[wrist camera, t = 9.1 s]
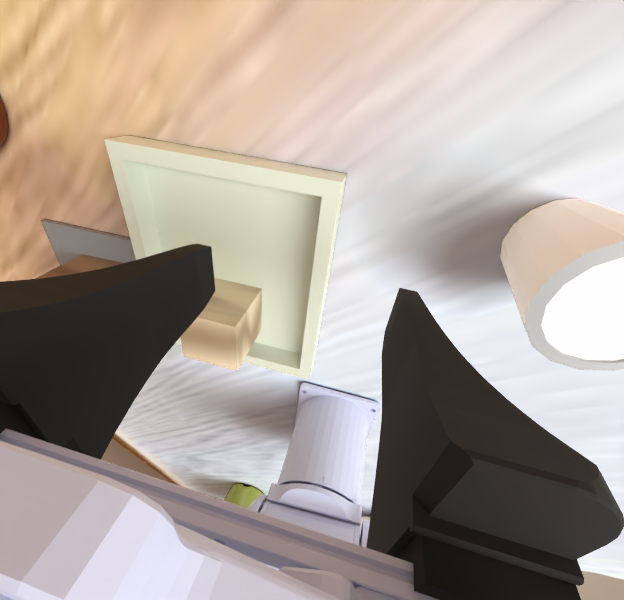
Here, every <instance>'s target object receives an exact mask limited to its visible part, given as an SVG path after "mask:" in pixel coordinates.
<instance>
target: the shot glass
mask: <svg viewBox="0 0 624 600" xmlns="http://www.w3.org/2000/svg"><path fill="white" fill-rule="evenodd" d="M500 258H501V261H502V264H503V267H504V270H505V273H506V275H507V278H508V281H509V284H510V287H511V290H512V293H513V295H514V298H515V301H516V304H517V307H518V310H519V312H520V315H521V318H522V321H523V324H524V327H525V329H526V332H527V334H528V337H529V340H530V342H531V345H532V346H533V347H534V348H535V349H536V350H538V351H539V352H540V353H542V354H543V355H544V356H545V357H547V358H548V359H549V360H550V361H553V362H556V363H560V364H563V365H566V366H569V367H573V368H576V369H582V370H613V371H614V370H619V369H624V213H623V212H621V211H618V210H615V209H612V208H609V207H607V206H604V205H601V204H598V203H595V202H591V201H587V200H583V199H579V198H572V199H563V200H554V201H551V202H549V203H546V204H544V205H542V206H539V207H537V208H534V209H532V210H530V211H529V212H528V213H527V214H525V215H524V216H523V217H522V218H520V219H519V220H518V221H517V222H515V223H514V224H513V225H512V227H511V228H510V230H509V232H508V233H507V235H506V236H505V238H504V239H503V241H502V248H501V254H500Z"/></svg>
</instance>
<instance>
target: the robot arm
mask: <svg viewBox="0 0 624 600" xmlns="http://www.w3.org/2000/svg"><path fill="white" fill-rule="evenodd" d="M214 292H215V281H214V270H213V259H212V249H211V247H210V246H206V245H201V244H191V245H187V246H183V247H179V248H175V249H172V250H169V251H165V252H162V253H158V254H155V255H152V256H148V257H145V258H141V259H138V260H134V261H130V262H126V263H123V264H119V265H115V266H111V267H107V268H102V269H98V270H92V271H87V272H82V273H76V274H70V275H62V276H55V277H47V278H40V279H30V280H19V281H6V282H0V600H581V598H580V596H579V593H578V590H577V587H576V585H582V584H583V583H584V577H583V575H582V572H581V569H580V567H579V564H578V561H577V559H578V558H580V557H582V556H584V555H586V554H588V553H590V552H592V551H594V550H597V549H599V548H601V547H603V546H605V545H607V544H609V543H610V542H612V541H613V540H615V539H616V538H617V537H618V536H619V535H620V533H621V531H622V529H623V527H624V518H623V514H622V512H621V510H620V508H619V507H618V505H617V503H616V501H615V499H614V497H613V495H612V493H611V491H610V489H609V488H608V486H607V484H606V482H605V480H604V478H603V476H602V474H601V472H600V471H599V469H598V467H597V466H596V465H595V464H594V463H592V462H591V461H589V460H588V459H586V458H585V457H584V456H582V455H581V454H579V453H578V452H576V451H575V450H573V449H572V448H571V447H569V446H568V445H566V444H565V443H563V442H562V441H560V440H559V439H558V438H556V437H555V436H553V435H552V434H550V433H549V432H548V431H546V430H545V429H544V428H542V427H541V426H540V425H538V424H537V423H536V422H535V421H533V420H532V419H531V418H529V417H528V416H527V415H526V414H524V413H523V412H522V411H521V410H519V409H518V408H517V407H516V406H515V405H513V404H512V403H511V402H510V401H509V400H507V399H506V398H505V397H504V396H503V395H502V394H501V393H500V392H498V391H497V390H496V389H495V388H494V387H493V386H492V385H491V384H490V383H488V382H487V381H486V380H485V379H484V378H483V377H482V376H481V375H480V374H479V373H478V372H477V371H476V370H475V369H474V367H473V366H472V365H471V364H470V363H469V362H468V361H467V360H466V359H465V358H464V357H463V356H462V354H461V353H460V352H459V351H458V350H457V349H456V347H455V346H454V345H453V344H452V342H451V341H450V340H449V339H448V337H447V336H446V335H445V333H444V332H443V331H442V329H441V328H440V326H439V325H438V323H437V322H436V321H435V319H434V318H433V316H432V315H431V313H430V311H429V310H428V308H427V307H426V305H425V304H424V302H423V300H422V299H421V297H420V295H419V294H418V292H416V291H411V290H406V289H402V288H399V291H398V294H397V297H396V300H395V303H394V306H393V309H392V312H391V315H390V318H389V321H388V324H387V327H386V330H385V335H384V342H383V350H382V422H381V432H380V442H379V452H378V460H377V469H376V478H375V486H374V494H373V502H372V510H371V517H370V523H369V522H367V521H363V522H362V527H361V535H360V525H361V514H362V506H361V495H362V484H363V474H364V463H365V453H366V442H367V438H368V435H369V433H370V430H371V428H372V426H373V423H374V421H375V418H376V416H377V413H378V411H379V408H380V404H379V403H378V402H376V401H372V400H368V399H364V398H361V397H357V396H353V395H349V394H346V393H342V392H338V391H335V390H331V389H327V388H323V387H320V386H316V385H312V384H309V383H302V384H301V386H300V391H299V399H298V406H297V413H296V420H295V428H294V432H293V435H292V439H291V442H290V445H289V448H288V451H287V455H286V458H285V461H284V464H283V467H282V471H281V474H280V477H279V480H278V484H273V483H272V484H271V487H270V490H269V493H268V496H267V495H260V496H259V497H258V498H257V499H256V500H255V501H253V502H252V503H251V504H250V506H249V507H248V508H245V507H242V506H239V505H236V504H233V503H230V502H227V501H224V500H221V499H218V498H215V497H212V496H209V495H206V494H202V493H199V492H196V491H193V490H190V489H187V488H184V487H181V486H178V485H175V484H172V483H169V482H166V481H163V480H160V479H157V478H154V477H151V476H148V475H145V474H142V473H139V472H136V471H133V470H130V469H127V468H124V467H121V466H118V465H115V464H112V463H109V462H106V461H103V460H101V458H102V456H103V454H104V452H105V450H106V448H107V447H108V445H109V443H110V441H111V439H112V437H113V436H114V434H115V432H116V430H117V428H118V427H119V425H120V423H121V422H122V420H123V418H124V416H125V415H126V413H127V411H128V410H129V408H130V406H131V405H132V403H133V401H134V400H135V398H136V397H137V395H138V394H139V392H140V390H141V389H142V387H143V386H144V384H145V383H146V381H147V380H148V378H149V377H150V375H151V374H152V372H153V371H154V369H155V368H156V367H157V365H158V364H159V362H160V361H161V359H162V358H163V357H164V356H165V354H166V353H167V352H168V351H169V349H170V348H171V347H172V346H173V345H174V344H175V343H176V341H177V340H178V339H179V338H180V337H181V336H182V335H183V333H184V332H185V331H186V330H187V329H188V328H189V326H190V325H191V324H192V323H193V322H194V321H195V320H196V318H197V317H198V316H199V315H200V314H201V312H202V311H203V310H204V308H205V307H206V305H207V304H208V302H209V301H210V299H211V297H212V296H213V294H214Z"/></svg>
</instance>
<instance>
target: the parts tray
mask: <svg viewBox="0 0 624 600" xmlns="http://www.w3.org/2000/svg"><path fill="white" fill-rule="evenodd" d="M104 140H105V144H106V148H107V152H108V155H109V159H110V163H111V167H112V171H113V174H114V178H115V182H116V186H117V190H118V193H119V197H120V201H121V205H122V209H123V212H124V216H125V220H126V224H127V228H128V231H129V235H130V239H131V243H132V247H133V250H134V254H135V258H136V260H138V259H141V258H145V257H148V256H152V255H155V254H158V253H162V252H165V251H169V250H172V249H175V248H179V247H183V246H187V245H191V244H201V245H206V246H210V247H211V249H212V259H213V270H214V278H218V279H222V280H227V281H231V282H235V283H240V284H244V285H248V286H252V287H257V288H261V289H262V317H261V331H260V333H259V335H258V336H257V338H256V340H255V342H254V343H253V345H252V347H251V348H250V350H249V352H248V354H247V355H246V357H245V359H244V361H243V362H245V363H249V364H252V365H256V366H260V367H264V368H267V369H271V370H275V371H279V372H282V373H286V374H290V375H294V376H297V377H301V378H305V379H309V380H310V376H311V373H312V370H313V367H314V364H315V359H316V353H317V348H318V342H319V336H320V330H321V324H322V318H323V312H324V307H325V301H326V295H327V289H328V283H329V277H330V271H331V266H332V260H333V254H334V248H335V242H336V236H337V230H338V225H339V219H340V213H341V207H342V201H343V195H344V190H345V184H346V178H347V173H342V172H336V171H331V170H325V169H319V168H314V167H308V166H302V165H296V164H291V163H285V162H279V161H274V160H268V159H262V158H257V157H251V156H245V155H240V154H234V153H228V152H223V151H217V150H211V149H205V148H200V147H194V146H188V145H183V144H177V143H171V142H166V141H160V140H154V139H149V138H143V137H137V136H132V135H128V136H122V137H116V138H110V139H104ZM175 344H178V345H181V346H182V343H181V338H179V339H178V340H177V341H176V343H175Z"/></svg>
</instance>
